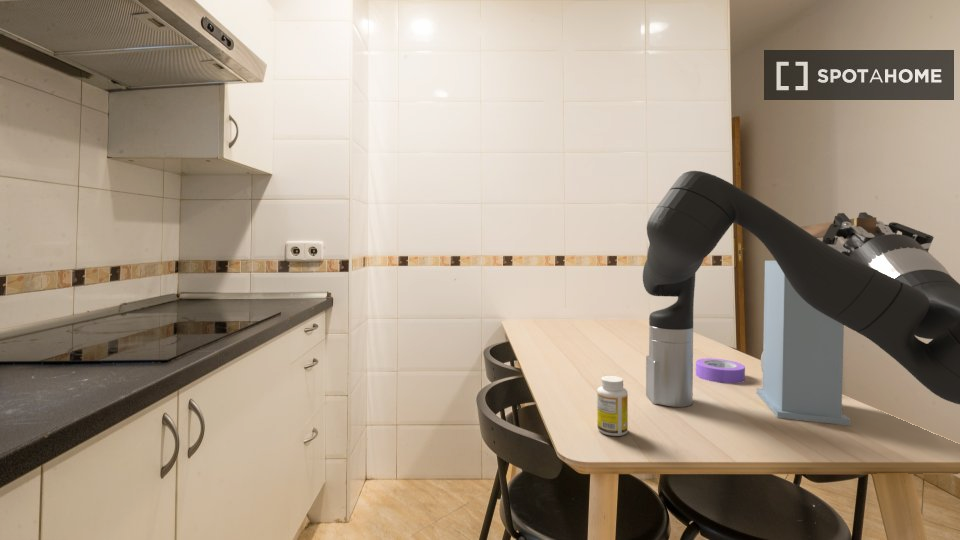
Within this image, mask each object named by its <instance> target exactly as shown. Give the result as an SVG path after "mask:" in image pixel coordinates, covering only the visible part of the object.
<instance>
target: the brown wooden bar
mask: <svg viewBox="0 0 960 540" xmlns="http://www.w3.org/2000/svg"><path fill="white" fill-rule="evenodd" d="M849 220H850V221H851V223H852V224H854V225H855V226H861V227H862V228H863V229H864V230H866V231H867V232H868V233H874V232H875V228H876V220H877V217H874V216H873V217H871V218H858V217H854V218H849ZM833 222H834V221H831V222H830V221H828V222H824V223H817V224H811V225H805V226H800V228H802V229H803V230H805V231H807V232H808V233H810V234H811V235H813V236H814V237H816V238H817V239H819V238H822V239H823V237H824V235H825V233H826V232H827V230H828V228H829V226H830V225H831V224H833Z"/></svg>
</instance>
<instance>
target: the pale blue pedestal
mask: <svg viewBox="0 0 960 540" xmlns="http://www.w3.org/2000/svg"><path fill="white" fill-rule="evenodd" d="M763 292H764V295H763V300H764V301H763V344H762V346H763V351H762V352H763V372H762V388H756V395H757V396H759V398H760V399H761V400H762V402H764V404H765V405H766V406H767V407H768V409H769V410H770V411H771V412H772V413H773V414H774V415H775V417H776V418H777V419H785V420H793V421H794V420H795V421H796V420H797V421H805V422H813V423H821V424H822V423H823V424H825V423H826V424H832V425H833V424H834V425H842V426H843V425H844V426H851V419H850V418H849V417H848V416H846V415H845V414H844V413H843V411H842V409H843V408H842V407H843V406H842V405H843V404H842V403H843V402H842V401H843V376H844V375H843V372H844V371H843V368H844V365H843V364H844V335H845V334H844V332H845V331H844V329H845V325H843V324H841V323H839V322H837V321H835V320H834V319H832V318H830V317H828V316H826V315H825V314H823V313H821V312H819V311H818V310H816V309H815V308H813V307H812V306H811V305H809V304H808V303H807V302H806V301H805V300H804V299H802V298H801V297H800V295H799V294H798V293H797V292H796V291H795V290H794V288H793V287H792V285H791V284H790V282H789V281H788V279H787V278H786V276H785V275H784V273H783V271H782V270H781V268H780V266H779V265H778V263H777V262H776V260H764V291H763Z"/></svg>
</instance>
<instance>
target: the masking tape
mask: <svg viewBox="0 0 960 540" xmlns="http://www.w3.org/2000/svg"><path fill="white" fill-rule="evenodd" d="M745 373H746V367H745V365H744V364H742V363H741V362H738V361H733V360H730V359H725V358H724V359H723V358H707V357H706V358H700V359H697V360H696V361H695V376H696V377H698V378H700V379H703V380H704V381H705V380H706V381H708V380H709V381H710V382H715V383H721V384H740V383H743V382H745V379H746V376H745V375H746V374H745Z"/></svg>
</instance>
